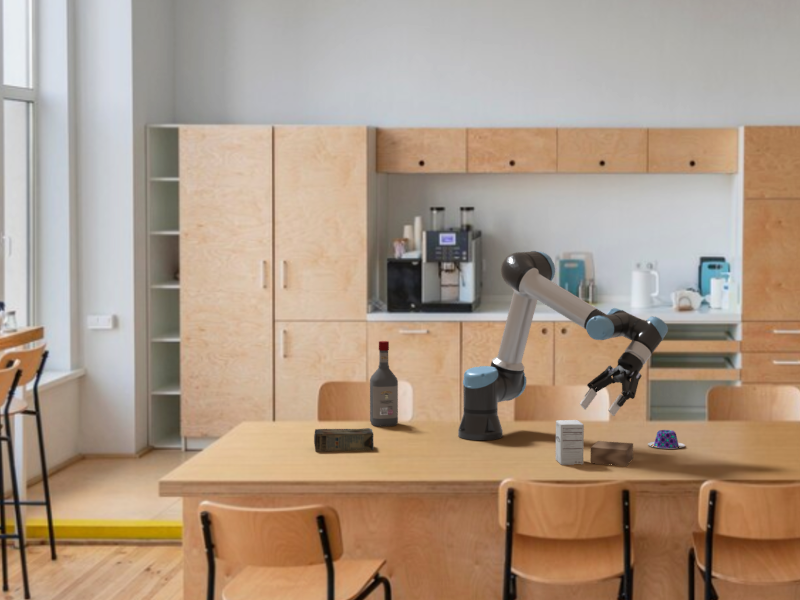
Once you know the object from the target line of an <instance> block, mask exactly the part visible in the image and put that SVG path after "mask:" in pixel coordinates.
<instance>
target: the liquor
mask: <svg viewBox="0 0 800 600" xmlns="http://www.w3.org/2000/svg"><path fill="white" fill-rule="evenodd" d="M389 343H390V342H389V340H381V341H378V351H379V355H378V357H379V358H378V359H379V360H378V367H377V369H376V371H374V372H373V374H372V375H371V376H370V379H369V404H370V405H369V416H370V417H369V422H370V424H371V425H373V426H374V427H378V428H379V427H394V426H397V424H398V423H399V409H398V408H399V401H398V400H399V389H398V388H399V383H398V382H399V381H398V378H397V377H396V375H395V374H394V372H393V371H392V370H391V369H390V366H389V349H390V347H389V346H390V345H389Z"/></svg>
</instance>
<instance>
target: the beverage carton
mask: <svg viewBox="0 0 800 600" xmlns="http://www.w3.org/2000/svg"><path fill="white" fill-rule="evenodd" d="M313 443H314V450H315V452H348V451H349V452H350V451H351V452H352V451H354V452H355V451H357V452H358V451H374V432H373V429H372V428H371V427H370V428H369V427H366V428H365V427H364V428H315V429H314V435H313Z"/></svg>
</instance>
